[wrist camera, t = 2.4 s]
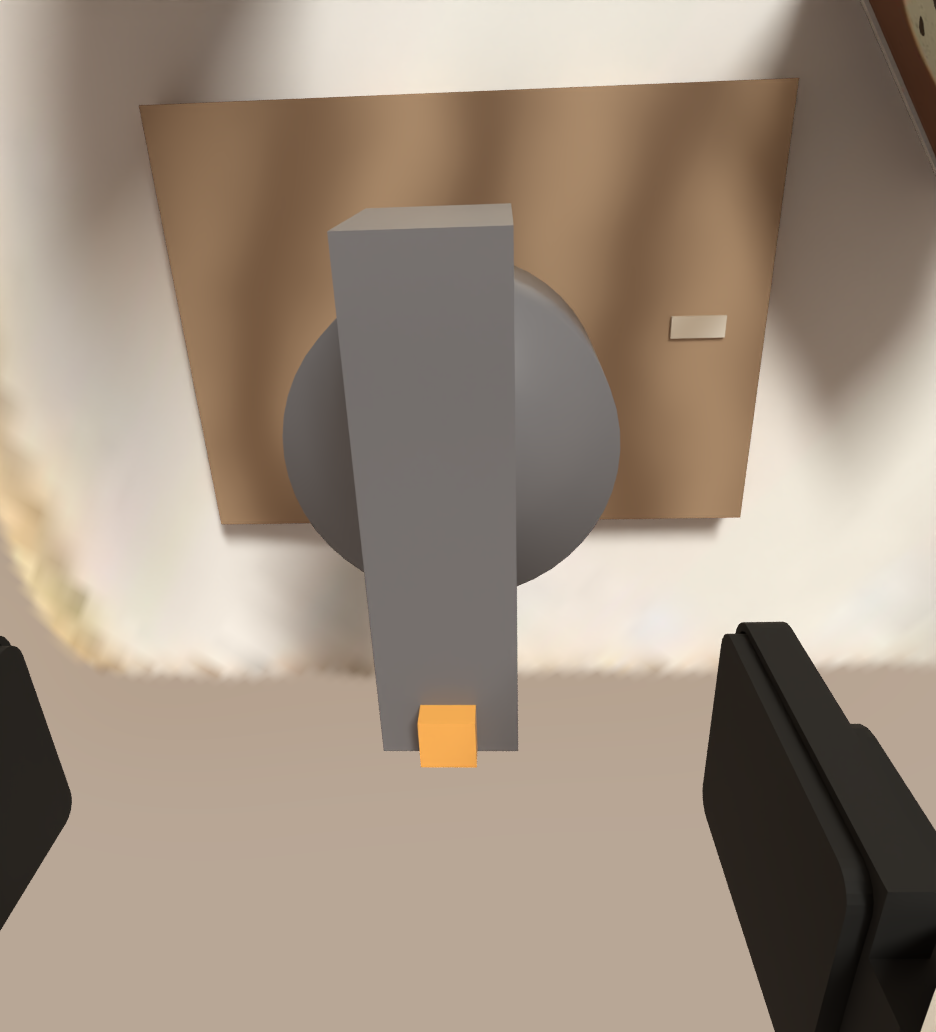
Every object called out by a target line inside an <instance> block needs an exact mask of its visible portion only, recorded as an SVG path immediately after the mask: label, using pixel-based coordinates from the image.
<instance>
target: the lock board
mask: <svg viewBox="0 0 936 1032" xmlns="http://www.w3.org/2000/svg"><path fill="white" fill-rule="evenodd" d="M798 81H799V78H785V79H761V80H737V81H713V82H689V83H665V84H641V85H617V86H593V87H569V88H545V89H521V90H497V91H473V92H449V93H425V94H401V95H377V96H353V97H329V98H305V99H281V100H257V101H233V102H209V103H185V104H161V105H139V109H140V114H141V119H142V124H143V129H144V134H145V139H146V144H147V149H148V154H149V160H150V165H151V170H152V175H153V180H154V185H155V190H156V195H157V200H158V205H159V210H160V215H161V220H162V225H163V231H164V236H165V241H166V246H167V251H168V256H169V261H170V266H171V271H172V276H173V281H174V286H175V291H176V296H177V302H178V307H179V312H180V317H181V322H182V327H183V332H184V337H185V342H186V347H187V352H188V357H189V362H190V367H191V373H192V378H193V383H194V388H195V393H196V398H197V403H198V408H199V413H200V418H201V423H202V428H203V433H204V438H205V443H206V449H207V454H208V459H209V464H210V469H211V474H212V479H213V484H214V489H215V494H216V499H217V504H218V509H219V514H220V520H221V524H283V523H311V522H310V521H309V519H308V518H307V516H306V515H305V513H304V512H303V510H302V508H301V506H300V504H299V502H298V500H297V498H296V496H295V493H294V491H293V488H292V485H291V482H290V480H289V477H288V472H287V468H286V463H285V459H284V450H283V437H282V436H283V419H284V412H285V407H286V402H287V397H288V393H289V391H290V388H291V385H292V382H293V380H294V377H295V374H296V373H297V371H298V369H299V367H300V365H301V363H302V361H303V359H304V357H305V356H306V354H307V353H308V352H309V350H310V349H311V348H312V346H313V345H314V343H315V342H316V341H317V339H318V338H319V337H320V336H321V335H322V333H323V332H324V331H325V330H326V329H327V328H328V327H329V325H330V324H331V323H332V322H333V321H334V320H335V319H336V308H335V299H334V290H333V280H332V271H331V262H330V253H329V244H328V235H327V231H329V230H330V229H332V228H334V227H335V226H337V225H339V224H340V223H342V222H344V221H345V220H347V219H349V218H351V217H352V216H354V215H356V214H357V213H359V212H361V211H362V210H364V209H366V208H389V207H419V206H448V205H477V204H506V203H511V207H512V216H513V225H514V265H515V266H517V267H519V268H521V269H523V270H525V271H527V272H529V273H531V274H532V275H534V276H535V277H537V278H538V279H540V280H541V281H543V282H544V283H546V284H547V285H548V286H549V287H551V288H552V289H553V290H554V291H555V292H556V293H557V294H559V295H560V296H561V297H562V298H563V300H564V301H565V302H566V303H567V304H568V305H569V306H570V308H571V309H572V310H573V311H574V313H575V314H576V316H577V317H578V319H579V320H580V322H581V323H582V325H583V326H584V328H585V330H586V332H587V335H588V337H589V339H590V341H591V343H592V345H593V348H594V350H595V353H596V355H597V357H598V360H599V362H600V365H601V367H602V370H603V372H604V375H605V377H606V379H607V382H608V384H609V387H610V389H611V393H612V396H613V399H614V402H615V406H616V409H617V415H618V421H619V428H620V457H619V465H618V472H617V476H616V480H615V483H614V487H613V491H612V493H611V496H610V498H609V500H608V503H607V505H606V507H605V510H604V511H603V513H602V515H601V516H600V518H599V519H658V518H733V517H740V514H741V507H742V499H743V492H744V484H745V477H746V469H747V462H748V454H749V447H750V439H751V432H752V425H753V417H754V410H755V402H756V395H757V387H758V380H759V372H760V365H761V357H762V350H763V343H764V335H765V328H766V320H767V313H768V305H769V298H770V290H771V283H772V275H773V268H774V260H775V253H776V246H777V238H778V231H779V223H780V216H781V208H782V201H783V193H784V186H785V178H786V171H787V163H788V156H789V149H790V141H791V134H792V126H793V119H794V111H795V104H796V96H797V89H798Z"/></svg>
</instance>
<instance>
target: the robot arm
mask: <svg viewBox="0 0 936 1032" xmlns="http://www.w3.org/2000/svg"><path fill="white" fill-rule="evenodd" d="M71 805H72V797H71V792H70V789H69V786H68V783H67V780H66V777H65V775H64V772H63V769H62V766H61V763H60V760H59V758H58V755H57V752H56V749H55V746H54V743H53V740H52V737H51V734H50V731H49V729H48V726H47V723H46V720H45V717H44V714H43V711H42V708H41V706H40V703H39V700H38V697H37V694H36V691H35V689H34V686H33V683H32V680H31V677H30V674H29V671H28V668H27V665H26V663H25V660H24V657H23V655H22V653H21V651H20V650H19V649H18V648H17V647H15V646H11V645H10V643H9V641H7V639H6V638H5V637H2V636H0V930H1V929H2V927H3V925H4V924H5V922H6V920H7V919H8V917H9V915H10V913H11V912H12V911H13V909H14V907H15V906H16V904H17V902H18V901H19V899H20V897H21V896H22V894H23V893H24V891H25V889H26V888H27V886H28V884H29V883H30V881H31V879H32V878H33V876H34V875H35V873H36V871H37V869H38V868H39V866H40V864H41V863H42V861H43V860H44V858H45V856H46V855H47V853H48V851H49V850H50V848H51V847H52V845H53V843H54V842H55V840H56V838H57V837H58V835H59V833H60V832H61V830H62V829H63V827H64V825H65V824H66V822H67V820H68V818H69V814H70V811H71ZM703 805H704V811H705V814H706V818H707V821H708V824H709V828H710V831H711V834H712V837H713V840H714V843H715V846H716V849H717V852H718V856H719V859H720V862H721V865H722V868H723V871H724V874H725V878H726V881H727V884H728V887H729V890H730V893H731V896H732V899H733V902H734V906H735V909H736V912H737V915H738V918H739V921H740V924H741V927H742V931H743V934H744V936H745V940H746V943H747V946H748V949H749V952H750V956H751V958H752V962H753V965H754V968H755V971H756V974H757V977H758V980H759V983H760V987H761V990H762V993H763V996H764V999H765V1002H766V1005H767V1008H768V1012H769V1014H770V1018H771V1021H772V1024H773V1027H774V1030H775V1032H936V831H935V829H934V828H933V826H932V825H931V823H930V822H929V820H928V818H927V817H926V815H925V814H924V812H923V811H922V809H921V808H920V806H919V804H918V803H917V801H916V800H915V798H914V797H913V795H912V793H911V792H910V790H909V789H908V787H907V786H906V784H905V783H904V781H903V779H902V778H901V776H900V775H899V773H898V772H897V770H896V769H895V767H894V766H893V764H892V762H891V761H890V759H889V758H888V756H887V755H886V753H885V752H884V750H883V749H882V747H881V745H880V744H879V742H878V741H877V739H876V738H875V736H874V735H873V734H872V733H871V731H870V730H869V729H868V728H867V727H865V726H863V725H861V724H850V723H849V721H848V719H847V718H846V716H845V715H844V713H843V711H842V710H841V708H840V706H839V705H838V703H837V702H836V700H835V698H834V697H833V695H832V693H831V692H830V690H829V689H828V687H827V685H826V684H825V682H824V681H823V679H822V677H821V676H820V674H819V672H818V671H817V669H816V667H815V666H814V664H813V663H812V661H811V659H810V658H809V656H808V654H807V653H806V651H805V650H804V648H803V646H802V645H801V643H800V641H799V640H798V638H797V637H796V635H795V633H794V632H793V630H792V628H791V627H790V626H789V625H788V624H787V623H785V622H743V623H740V624H739V625H738V627H737V629H736V634H725V635H724V637H723V639H722V644H721V651H720V658H719V666H718V674H717V681H716V690H715V697H714V704H713V712H712V720H711V727H710V735H709V743H708V750H707V758H706V767H705V773H704V782H703Z"/></svg>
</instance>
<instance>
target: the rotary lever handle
mask: <svg viewBox="0 0 936 1032" xmlns="http://www.w3.org/2000/svg"><path fill="white" fill-rule="evenodd" d="M327 235H328V244H329V253H330V262H331V271H332V280H333V290H334V299H335V308H336V319H335V320H334V321H333V322H332V323H331V324H330V325H329V327H328V328H327V329H326V330H325V331H324V332H323V333H322V335H321V336H320V337H319V338H318V339H317V341H316V342H315V343H314V345H313V346H312V348H311V349H310V350H309V352H308V353H307V354H306V356H305V357H304V359H303V361H302V363H301V365H300V367H299V369H298V371H297V373H296V374H295V377H294V380H293V382H292V385H291V388H290V391H289V393H288V397H287V402H286V407H285V412H284V419H283V436H282V437H283V450H284V459H285V463H286V468H287V472H288V477H289V480H290V482H291V485H292V488H293V491H294V493H295V496H296V498H297V500H298V502H299V504H300V506H301V508H302V510H303V512H304V513H305V515H306V516H307V518H308V519H309V521H310V522H311V524H312V525H313V527H314V528H315V530H316V531H317V532H318V533H319V534H320V535H321V537H322V538H323V539H324V540H325V541H326V542H327V543H328V544H329V545H330V546H331V547H332V548H333V549H334V550H335V551H336V552H337V553H339V554H340V555H341V556H342V557H343V558H344V559H345V560H347V561H348V562H350V563H351V564H353V565H354V566H355V567H357V568H358V569H360V570H361V571H363V572H364V574H365V583H366V592H367V601H368V610H369V620H370V629H371V638H372V647H373V656H374V665H375V674H376V684H377V692H378V702H379V710H380V720H381V729H382V739H383V747H384V751H420V760H421V767H477V751H518V692H517V691H518V690H517V689H518V688H517V687H518V685H517V586H519V585H521V584H523V583H526V582H528V581H530V580H533V579H535V578H536V577H538V576H540V575H542V574H543V573H545V572H547V571H549V570H550V569H552V568H553V567H555V566H556V565H557V564H558V563H560V562H561V561H562V560H564V559H565V558H566V557H568V556H569V555H570V554H571V553H572V552H573V551H574V550H575V549H576V548H577V547H578V546H579V545H580V544H581V543H582V542H583V541H584V539H585V538H586V537H587V535H588V534H589V533H590V532H591V530H592V529H593V528H594V526H595V525H596V523H597V521H598V520H599V518H600V516H601V515H602V513H603V511H604V510H605V507H606V505H607V503H608V500H609V498H610V496H611V493H612V491H613V487H614V483H615V480H616V476H617V472H618V465H619V457H620V428H619V421H618V415H617V409H616V406H615V402H614V399H613V396H612V393H611V389H610V387H609V384H608V382H607V379H606V377H605V375H604V372H603V370H602V367H601V365H600V362H599V360H598V357H597V355H596V353H595V350H594V348H593V345H592V343H591V341H590V339H589V337H588V335H587V332H586V330H585V328H584V326H583V325H582V323H581V322H580V320H579V319H578V317H577V316H576V314H575V313H574V311H573V310H572V309H571V308H570V306H569V305H568V304H567V303H566V302H565V301H564V300H563V298H562V297H561V296H560V295H559V294H557V293H556V292H555V291H554V290H553V289H552V288H551V287H549V286H548V285H547V284H546V283H544V282H543V281H541V280H540V279H538V278H537V277H535V276H534V275H532V274H531V273H529V272H527V271H525V270H523V269H521V268H519V267H517V266H515V265H514V225H513V216H512V207H511V203H506V204H477V205H448V206H419V207H389V208H366V209H364V210H362V211H361V212H359V213H357V214H356V215H354V216H352V217H351V218H349V219H347V220H345V221H344V222H342V223H340V224H339V225H337V226H335V227H334V228H332V229H330V230H329V231H327Z"/></svg>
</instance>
